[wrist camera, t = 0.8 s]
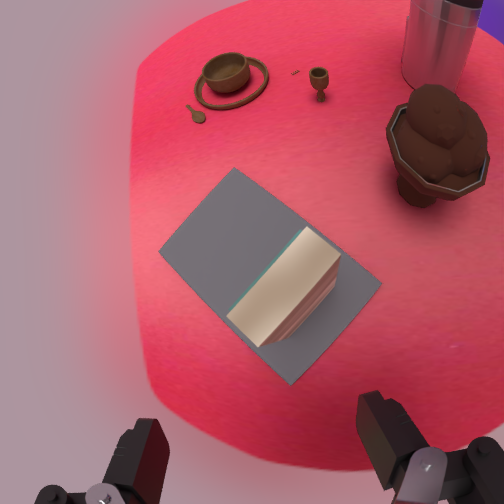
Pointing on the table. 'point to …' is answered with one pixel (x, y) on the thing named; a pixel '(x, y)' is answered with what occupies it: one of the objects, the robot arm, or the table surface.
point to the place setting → (242, 80)
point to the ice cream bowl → (437, 146)
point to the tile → (287, 289)
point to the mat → (260, 267)
